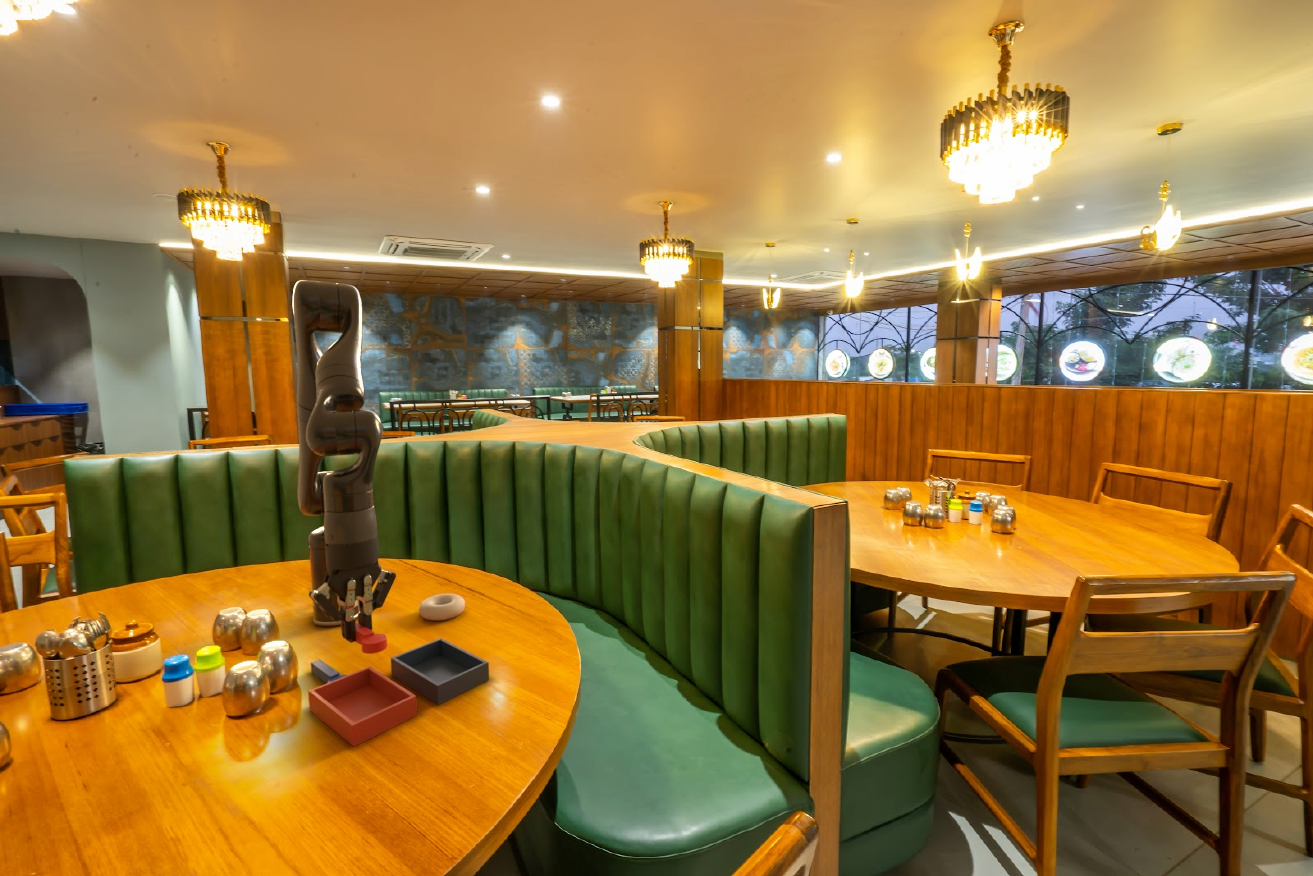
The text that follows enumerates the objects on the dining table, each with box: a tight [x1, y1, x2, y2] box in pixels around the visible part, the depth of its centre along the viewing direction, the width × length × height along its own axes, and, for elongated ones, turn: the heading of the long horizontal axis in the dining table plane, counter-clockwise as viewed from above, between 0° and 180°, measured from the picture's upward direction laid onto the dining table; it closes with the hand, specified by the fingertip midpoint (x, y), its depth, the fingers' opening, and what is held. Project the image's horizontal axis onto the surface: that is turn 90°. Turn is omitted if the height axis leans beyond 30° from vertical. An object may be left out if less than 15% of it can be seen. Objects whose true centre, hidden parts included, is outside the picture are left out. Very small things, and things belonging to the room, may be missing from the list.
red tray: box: [307, 666, 418, 748], centre depth 97 cm, size 15×10×3 cm
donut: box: [418, 593, 466, 622], centre depth 135 cm, size 10×4×10 cm
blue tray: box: [390, 637, 490, 706], centre depth 108 cm, size 15×10×3 cm
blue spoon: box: [310, 659, 348, 684], centre depth 106 cm, size 11×4×2 cm, turn 52°
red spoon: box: [340, 621, 388, 655], centre depth 96 cm, size 11×4×2 cm, turn 52°
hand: (357, 638), depth 97 cm, fingers closed on red spoon, 1 cm apart
